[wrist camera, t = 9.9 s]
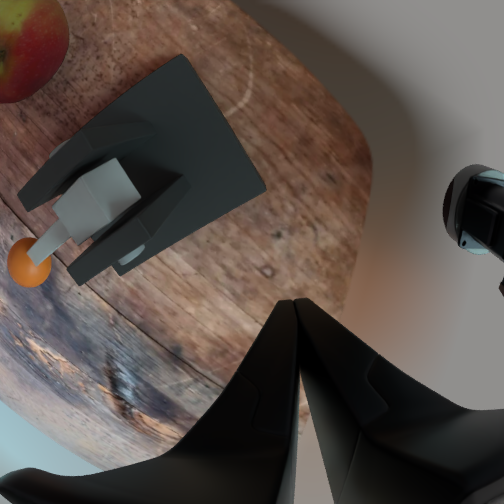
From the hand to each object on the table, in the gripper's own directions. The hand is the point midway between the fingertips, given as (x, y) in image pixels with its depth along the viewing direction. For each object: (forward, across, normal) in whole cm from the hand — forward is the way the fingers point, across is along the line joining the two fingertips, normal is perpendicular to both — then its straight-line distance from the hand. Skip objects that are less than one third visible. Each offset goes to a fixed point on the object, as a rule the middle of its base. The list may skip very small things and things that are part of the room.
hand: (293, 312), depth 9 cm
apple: (+13, +15, -14) cm, 24 cm away
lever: (+8, +11, -1) cm, 14 cm away
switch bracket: (+13, +8, -3) cm, 15 cm away
